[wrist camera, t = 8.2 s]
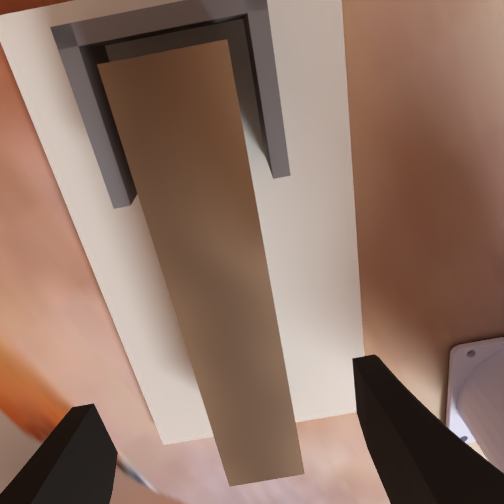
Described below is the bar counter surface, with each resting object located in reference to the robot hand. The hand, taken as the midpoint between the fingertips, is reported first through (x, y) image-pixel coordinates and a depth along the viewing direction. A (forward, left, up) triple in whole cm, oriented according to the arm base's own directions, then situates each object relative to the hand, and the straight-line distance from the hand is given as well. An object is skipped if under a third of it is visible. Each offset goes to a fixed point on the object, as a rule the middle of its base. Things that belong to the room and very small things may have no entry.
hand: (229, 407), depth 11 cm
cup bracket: (0, 0, -9) cm, 9 cm away
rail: (0, 0, -8) cm, 8 cm away
